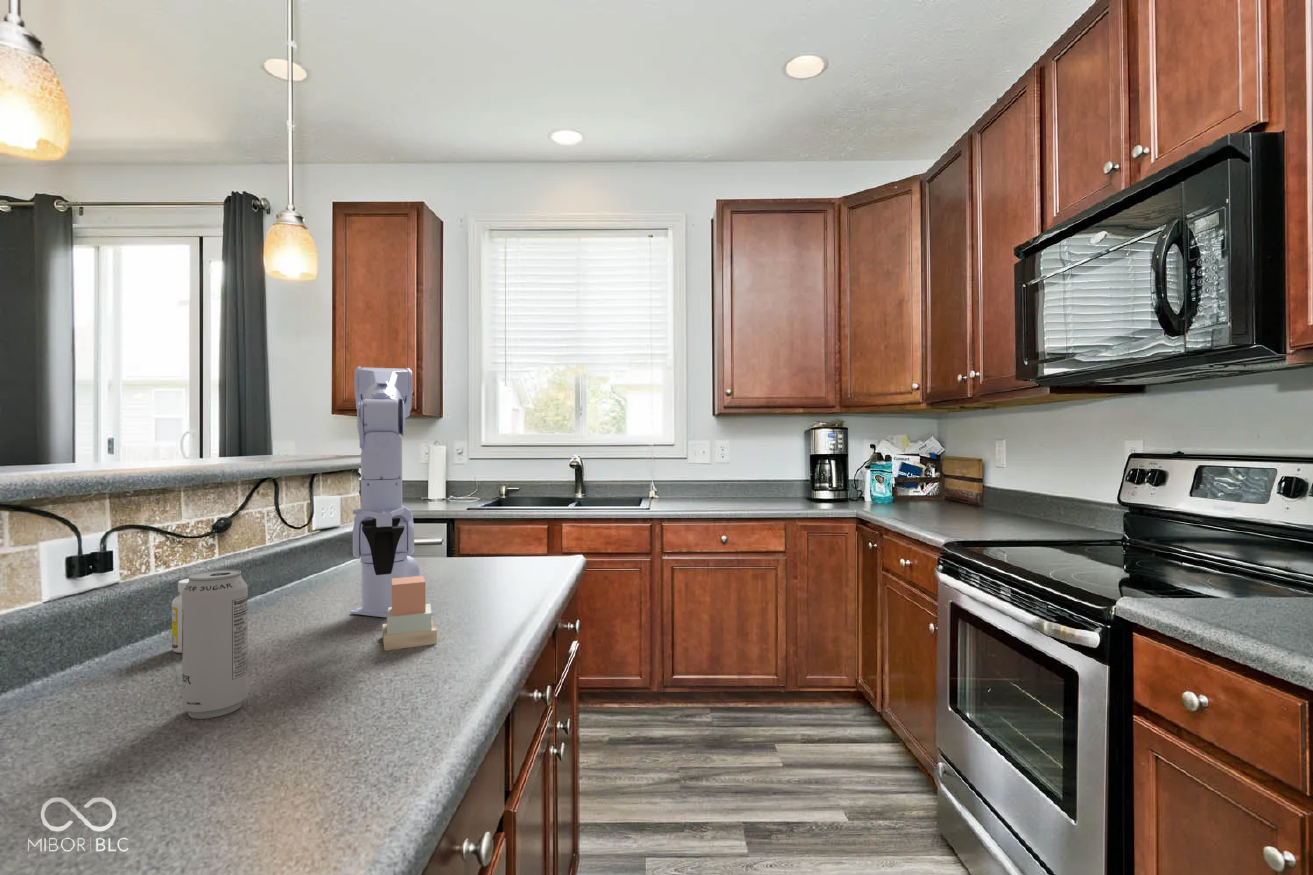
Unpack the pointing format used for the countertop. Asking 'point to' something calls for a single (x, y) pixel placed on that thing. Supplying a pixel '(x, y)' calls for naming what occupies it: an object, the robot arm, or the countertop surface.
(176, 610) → the supplement bottle
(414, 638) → the tower base
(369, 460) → the robot arm
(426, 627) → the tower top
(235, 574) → the energy drink can
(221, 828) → the countertop surface
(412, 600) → the terracotta cube
